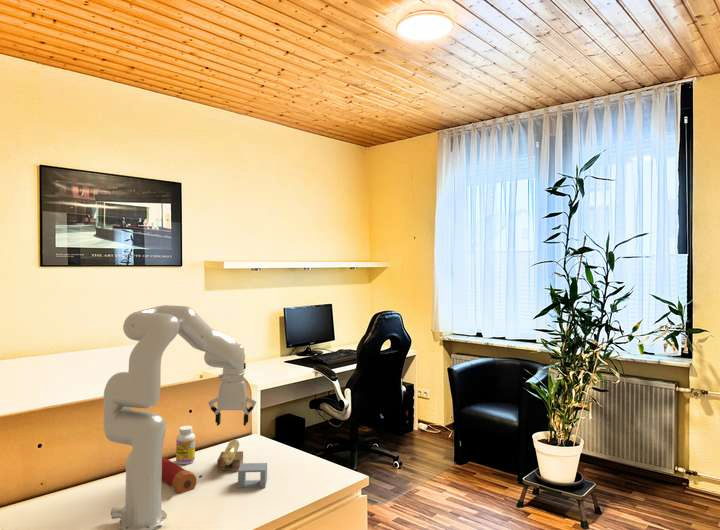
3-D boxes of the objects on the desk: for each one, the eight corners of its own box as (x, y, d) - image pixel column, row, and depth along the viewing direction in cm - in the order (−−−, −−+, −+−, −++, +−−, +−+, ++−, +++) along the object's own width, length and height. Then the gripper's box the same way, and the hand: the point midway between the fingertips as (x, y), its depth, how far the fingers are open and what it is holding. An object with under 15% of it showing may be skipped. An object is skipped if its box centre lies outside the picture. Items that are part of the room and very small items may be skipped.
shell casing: (177, 498, 161) (177, 476, 161) (151, 478, 175) (151, 458, 175) (197, 492, 166) (197, 470, 166) (170, 473, 180) (171, 453, 180)
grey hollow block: (265, 490, 167) (265, 470, 167) (237, 491, 166) (238, 470, 166) (267, 482, 173) (267, 462, 173) (240, 483, 172) (241, 463, 172)
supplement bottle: (172, 464, 188) (172, 429, 188) (183, 457, 194) (183, 424, 194) (187, 466, 186) (188, 431, 186) (198, 459, 192) (198, 425, 192)
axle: (232, 465, 177) (233, 453, 177) (220, 464, 176) (221, 453, 176) (239, 450, 191) (239, 439, 191) (228, 450, 190) (228, 439, 190)
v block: (217, 474, 179) (217, 460, 179) (221, 465, 187) (221, 451, 187) (239, 473, 180) (239, 459, 180) (243, 464, 188) (243, 451, 188)
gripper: (206, 379, 183) (205, 427, 183) (255, 380, 184) (254, 427, 184) (211, 375, 190) (210, 421, 190) (258, 376, 192) (256, 421, 191)
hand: (231, 424), depth 187 cm, fingers open, 9 cm apart
